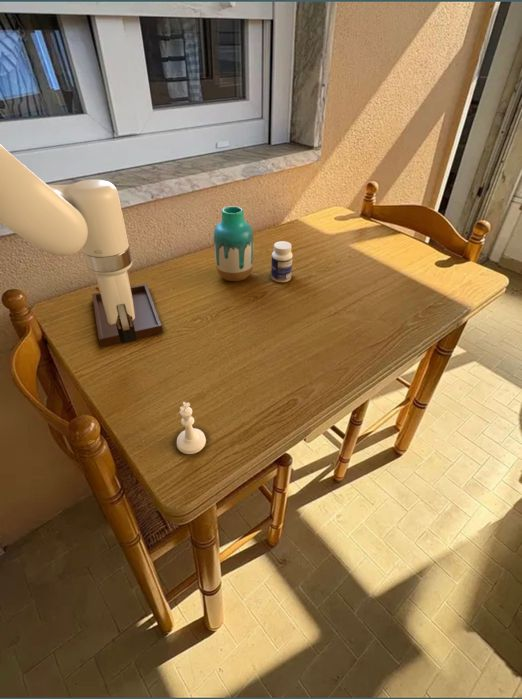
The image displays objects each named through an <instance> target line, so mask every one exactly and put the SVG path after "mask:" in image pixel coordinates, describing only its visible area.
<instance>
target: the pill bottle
mask: <svg viewBox="0 0 522 699" xmlns="http://www.w3.org/2000/svg"><path fill="white" fill-rule="evenodd" d="M293 256H294V255H293V252H292V243H290V242H289V241H285V240H280V241H276V242H275V243H274V244H273V251H272V253H271V267H270V276H271V279H272V281H274V282H276V283H287V282H288V281H291V279H292V274H293V273H292V272H293V271H292V270H293V260H294V259H293Z"/></svg>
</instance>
